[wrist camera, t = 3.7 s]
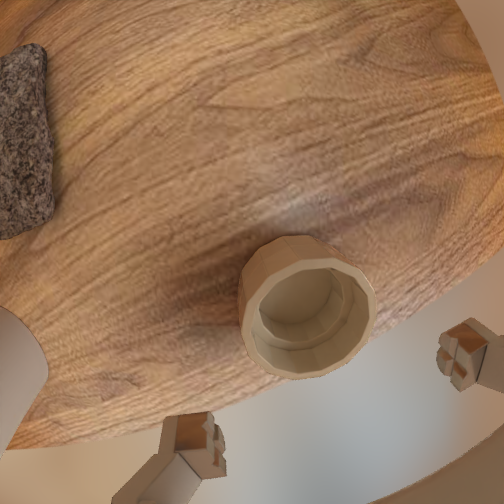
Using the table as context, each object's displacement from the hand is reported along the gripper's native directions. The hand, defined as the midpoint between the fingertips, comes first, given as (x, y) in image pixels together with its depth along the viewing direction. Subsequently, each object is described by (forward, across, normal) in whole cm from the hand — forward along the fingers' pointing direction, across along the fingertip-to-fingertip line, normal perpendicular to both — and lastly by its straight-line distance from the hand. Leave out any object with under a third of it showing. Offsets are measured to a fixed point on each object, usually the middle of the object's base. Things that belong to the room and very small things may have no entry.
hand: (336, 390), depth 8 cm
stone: (+9, +15, -14) cm, 22 cm away
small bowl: (+9, 0, 0) cm, 9 cm away
